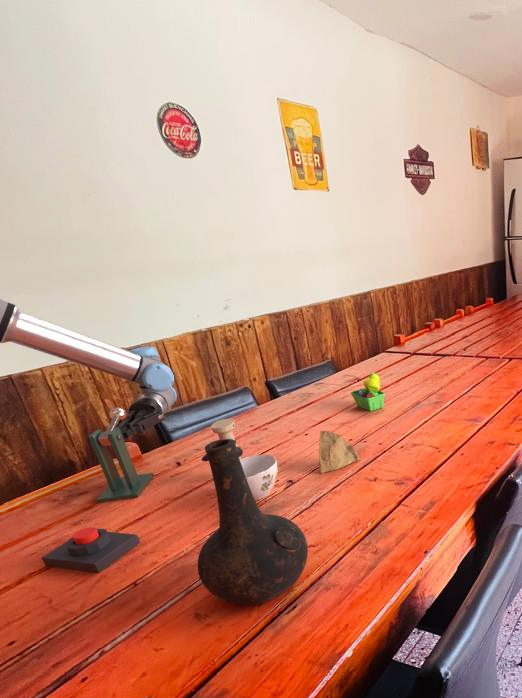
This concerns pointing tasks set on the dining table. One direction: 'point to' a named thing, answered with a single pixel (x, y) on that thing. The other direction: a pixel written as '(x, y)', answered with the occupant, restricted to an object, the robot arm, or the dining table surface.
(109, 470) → the bracket
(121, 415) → the lever
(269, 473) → the teacup
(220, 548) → the glass bottle
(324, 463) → the rock
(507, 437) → the dining table surface
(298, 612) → the dining table surface
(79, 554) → the control block
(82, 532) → the button
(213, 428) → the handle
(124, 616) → the dining table surface
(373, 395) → the fruit basket
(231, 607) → the dining table surface
